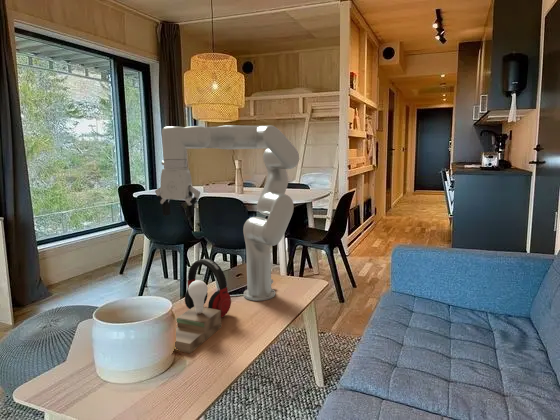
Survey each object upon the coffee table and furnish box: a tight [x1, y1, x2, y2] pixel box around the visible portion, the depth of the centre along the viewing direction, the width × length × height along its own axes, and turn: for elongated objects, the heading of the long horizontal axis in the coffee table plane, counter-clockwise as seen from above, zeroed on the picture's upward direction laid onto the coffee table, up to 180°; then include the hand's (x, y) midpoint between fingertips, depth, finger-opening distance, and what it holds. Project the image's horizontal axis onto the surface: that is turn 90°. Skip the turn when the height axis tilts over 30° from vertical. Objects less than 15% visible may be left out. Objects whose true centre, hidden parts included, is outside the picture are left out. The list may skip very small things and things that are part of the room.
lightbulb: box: [187, 279, 208, 314], centre depth 131 cm, size 6×6×11 cm
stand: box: [175, 306, 222, 354], centre depth 128 cm, size 18×10×6 cm, turn 158°
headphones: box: [184, 258, 232, 319], centre depth 144 cm, size 18×10×20 cm, turn 53°
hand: (178, 215), depth 137 cm, fingers open, 9 cm apart
